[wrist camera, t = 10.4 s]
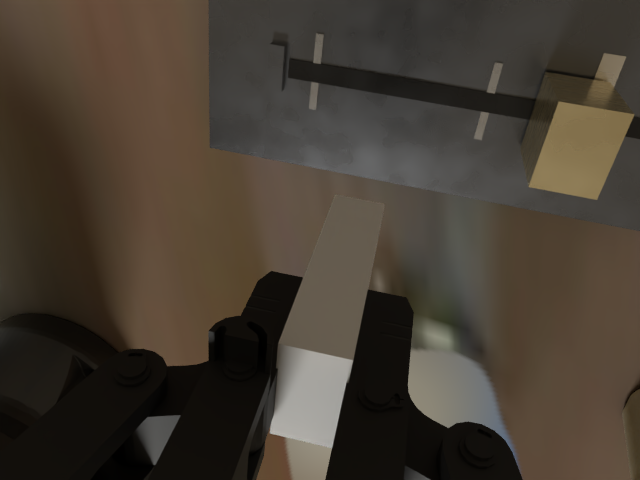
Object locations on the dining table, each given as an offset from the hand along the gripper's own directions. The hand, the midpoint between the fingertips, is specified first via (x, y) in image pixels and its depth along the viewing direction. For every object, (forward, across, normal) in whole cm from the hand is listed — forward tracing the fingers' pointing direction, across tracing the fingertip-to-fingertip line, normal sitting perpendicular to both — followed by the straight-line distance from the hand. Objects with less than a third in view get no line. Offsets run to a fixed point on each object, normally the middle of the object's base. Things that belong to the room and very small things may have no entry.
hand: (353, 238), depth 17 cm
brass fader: (+14, +8, 0) cm, 17 cm away
